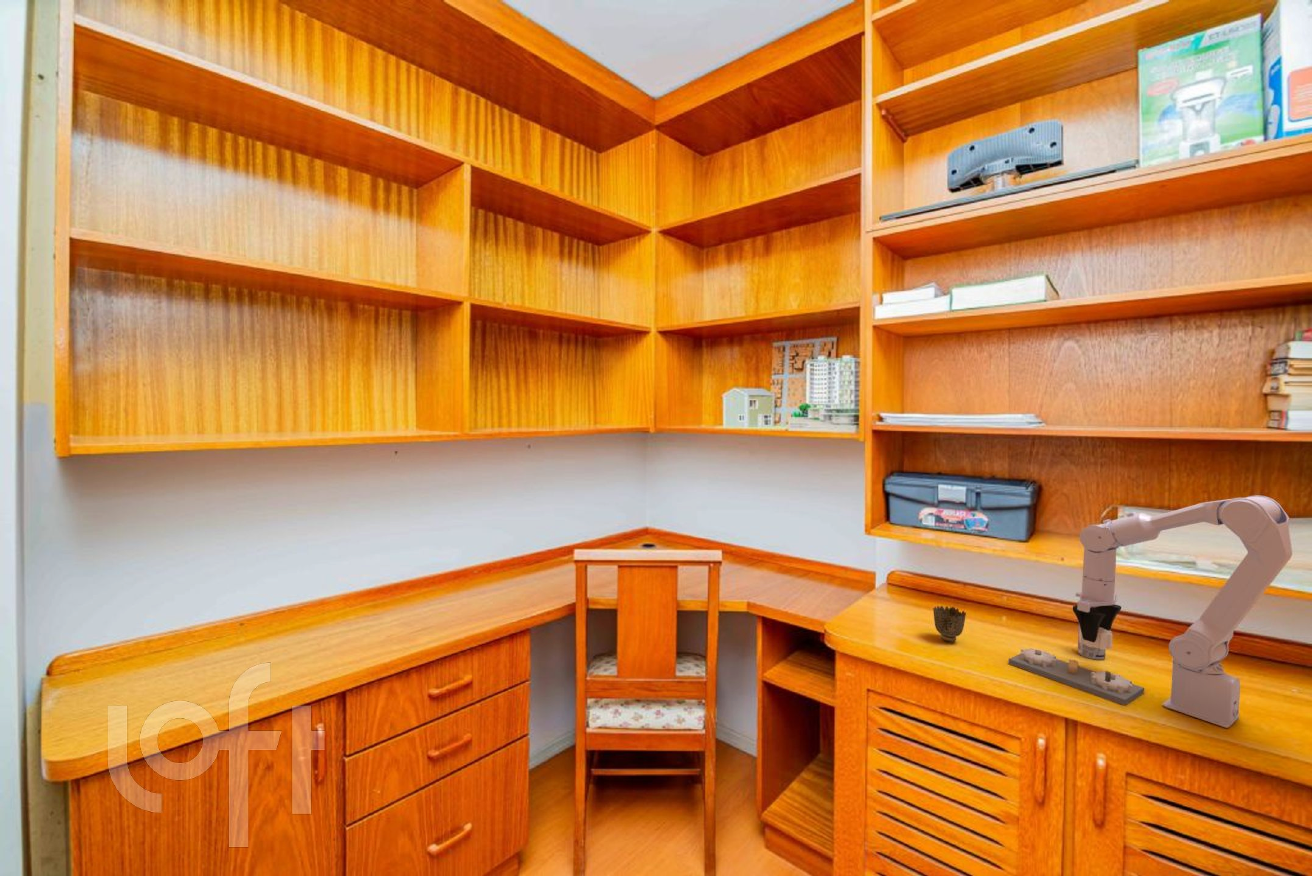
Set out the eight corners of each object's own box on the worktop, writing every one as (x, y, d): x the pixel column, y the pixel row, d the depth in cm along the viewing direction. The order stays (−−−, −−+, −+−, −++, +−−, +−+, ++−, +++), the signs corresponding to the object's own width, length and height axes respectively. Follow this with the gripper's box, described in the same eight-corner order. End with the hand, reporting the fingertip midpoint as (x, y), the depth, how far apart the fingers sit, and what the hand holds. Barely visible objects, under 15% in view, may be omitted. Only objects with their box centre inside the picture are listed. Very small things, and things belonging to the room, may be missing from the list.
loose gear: (1116, 645, 125) (1117, 631, 125) (1105, 651, 122) (1106, 636, 122) (1085, 636, 130) (1086, 623, 130) (1073, 641, 127) (1074, 627, 127)
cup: (971, 645, 142) (972, 614, 141) (946, 647, 140) (947, 616, 140) (950, 634, 149) (951, 604, 149) (925, 636, 147) (927, 605, 147)
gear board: (1143, 693, 118) (1145, 672, 118) (1125, 705, 113) (1126, 683, 113) (1029, 654, 137) (1030, 636, 137) (1008, 663, 131) (1009, 644, 131)
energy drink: (1106, 655, 137) (1109, 607, 137) (1103, 662, 133) (1105, 612, 133) (1079, 649, 141) (1081, 601, 140) (1075, 655, 137) (1077, 606, 137)
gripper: (1091, 569, 133) (1089, 625, 133) (1062, 577, 125) (1059, 637, 126) (1128, 577, 127) (1125, 636, 127) (1100, 586, 119) (1097, 649, 120)
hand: (1095, 637), depth 126 cm, fingers closed on loose gear, 6 cm apart
